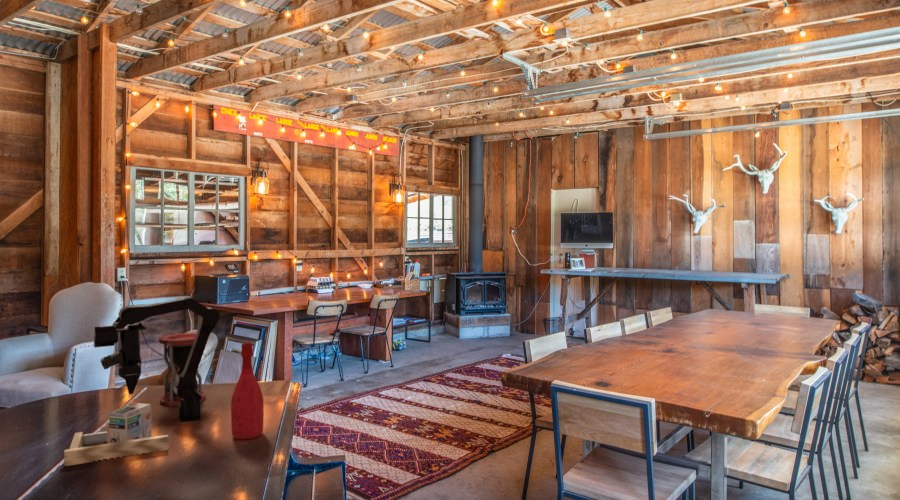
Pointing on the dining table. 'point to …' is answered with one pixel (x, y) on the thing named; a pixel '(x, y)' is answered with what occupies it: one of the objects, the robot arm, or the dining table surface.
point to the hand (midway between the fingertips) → (131, 390)
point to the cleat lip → (95, 438)
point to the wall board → (111, 449)
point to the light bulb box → (130, 422)
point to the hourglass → (177, 364)
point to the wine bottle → (247, 401)
